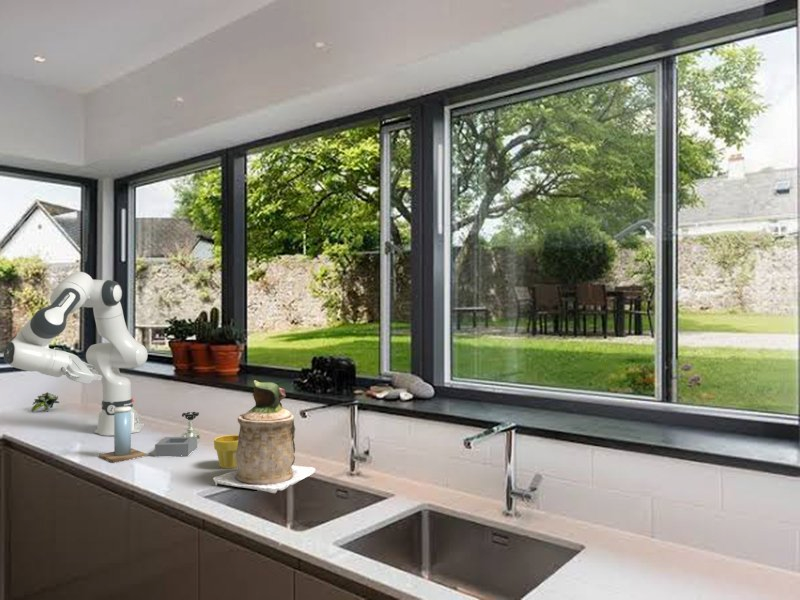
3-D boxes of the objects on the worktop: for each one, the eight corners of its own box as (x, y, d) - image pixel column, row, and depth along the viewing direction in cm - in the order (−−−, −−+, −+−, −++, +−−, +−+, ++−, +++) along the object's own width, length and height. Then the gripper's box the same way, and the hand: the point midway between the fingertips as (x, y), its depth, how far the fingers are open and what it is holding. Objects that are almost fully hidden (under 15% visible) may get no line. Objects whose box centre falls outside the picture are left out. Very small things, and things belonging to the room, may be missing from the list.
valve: (193, 445, 238) (193, 415, 238) (178, 444, 240) (178, 414, 240) (202, 441, 245) (202, 412, 245) (187, 440, 246) (187, 411, 246)
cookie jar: (278, 495, 178) (278, 387, 178) (210, 486, 187) (209, 383, 187) (317, 472, 201) (317, 377, 201) (255, 465, 210) (255, 374, 210)
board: (98, 457, 220) (98, 454, 220) (131, 450, 229) (131, 448, 229) (113, 463, 212) (113, 460, 212) (146, 456, 222) (146, 453, 221)
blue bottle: (117, 452, 224) (117, 406, 224) (133, 451, 224) (133, 406, 224) (111, 456, 218) (111, 409, 218) (127, 455, 218) (127, 408, 218)
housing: (165, 448, 233) (165, 437, 233) (197, 448, 234) (197, 436, 234) (155, 456, 221) (155, 444, 221) (188, 456, 222) (188, 444, 222)
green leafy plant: (46, 420, 314) (60, 399, 320) (51, 419, 306) (65, 398, 312) (25, 409, 309) (39, 389, 315) (30, 408, 301) (44, 387, 307)
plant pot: (209, 470, 204) (209, 441, 204) (220, 461, 214) (220, 434, 214) (239, 470, 203) (239, 441, 203) (248, 462, 214) (248, 434, 214)
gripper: (70, 366, 199) (110, 375, 210) (53, 345, 213) (91, 355, 223) (62, 383, 199) (102, 392, 209) (45, 361, 213) (84, 370, 223)
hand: (96, 372), depth 216 cm, fingers open, 8 cm apart
